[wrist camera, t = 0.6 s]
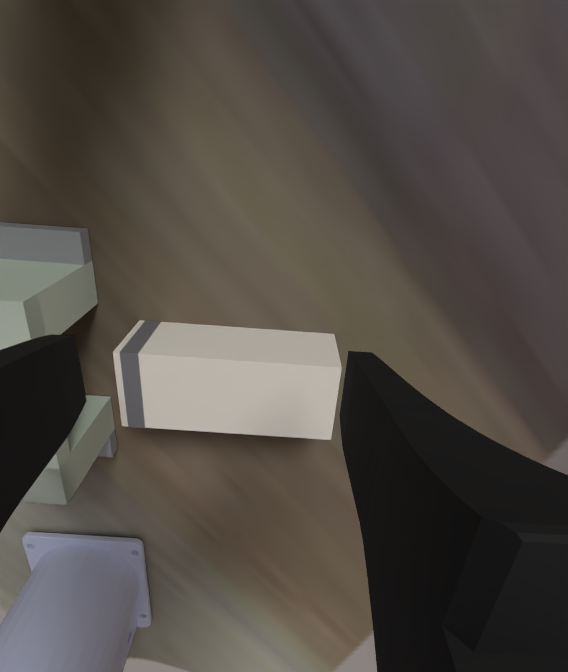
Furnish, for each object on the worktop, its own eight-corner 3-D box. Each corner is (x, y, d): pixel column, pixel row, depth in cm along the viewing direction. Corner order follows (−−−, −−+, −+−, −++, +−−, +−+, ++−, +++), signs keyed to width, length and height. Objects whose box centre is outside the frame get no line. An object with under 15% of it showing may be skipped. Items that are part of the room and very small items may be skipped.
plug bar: (325, 398, 23) (330, 440, 20) (145, 386, 23) (122, 426, 20) (333, 333, 21) (341, 367, 18) (139, 319, 21) (112, 351, 18)
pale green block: (117, 448, 25) (72, 527, 20) (50, 443, 24) (-13, 522, 19) (87, 228, 19) (13, 260, 14) (0, 222, 19) (-106, 251, 14)
